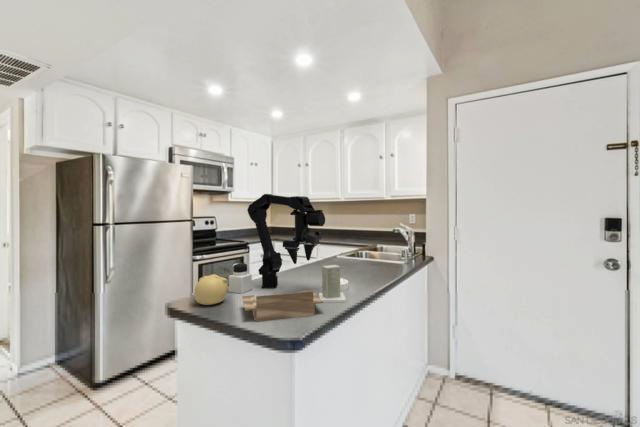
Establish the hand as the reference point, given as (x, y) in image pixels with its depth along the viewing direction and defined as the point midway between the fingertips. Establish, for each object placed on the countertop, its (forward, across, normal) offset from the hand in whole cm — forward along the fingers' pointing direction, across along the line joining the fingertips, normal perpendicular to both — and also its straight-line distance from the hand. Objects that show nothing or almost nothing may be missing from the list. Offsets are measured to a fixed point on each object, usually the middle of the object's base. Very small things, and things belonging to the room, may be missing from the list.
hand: (301, 262), depth 136 cm
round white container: (+14, +15, -8) cm, 21 cm away
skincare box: (+12, -1, -15) cm, 20 cm away
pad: (+13, -1, -16) cm, 20 cm away
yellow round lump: (+13, -31, +21) cm, 39 cm away
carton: (+13, -23, -8) cm, 27 cm away
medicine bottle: (+13, -13, +24) cm, 30 cm away
